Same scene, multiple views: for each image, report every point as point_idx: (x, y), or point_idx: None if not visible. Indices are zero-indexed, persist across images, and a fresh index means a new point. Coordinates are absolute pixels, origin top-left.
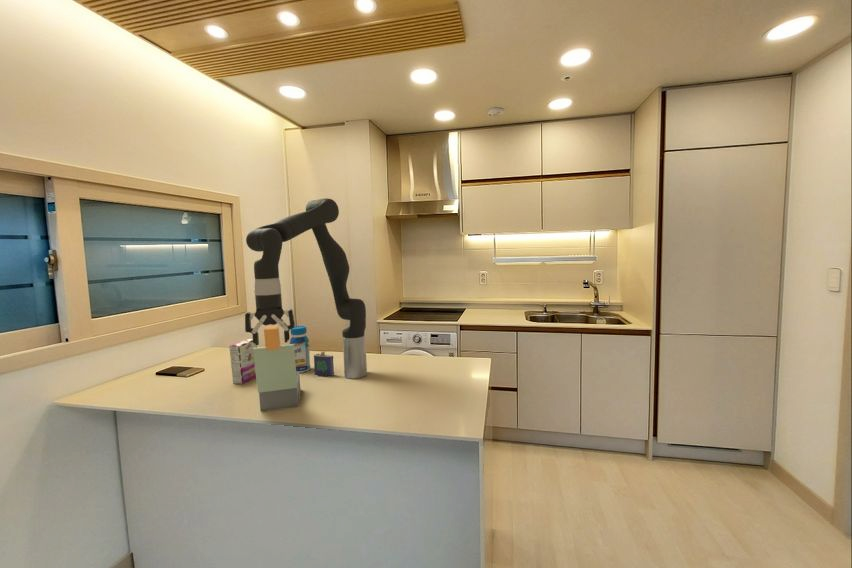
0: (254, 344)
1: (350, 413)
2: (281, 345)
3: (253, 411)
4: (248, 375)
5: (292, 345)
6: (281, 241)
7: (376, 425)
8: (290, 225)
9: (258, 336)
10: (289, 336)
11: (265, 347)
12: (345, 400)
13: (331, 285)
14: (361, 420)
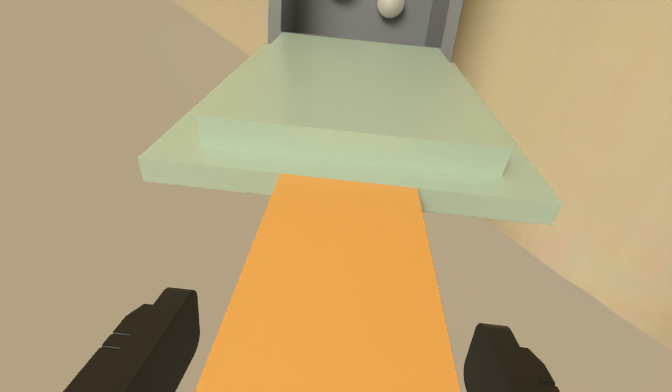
0: None
1: (584, 205)
2: (428, 196)
3: (259, 22)
4: None
5: (537, 220)
6: None
7: (611, 306)
8: None
9: (151, 350)
10: (551, 386)
11: (265, 190)
12: (622, 83)
13: None
14: (590, 263)
